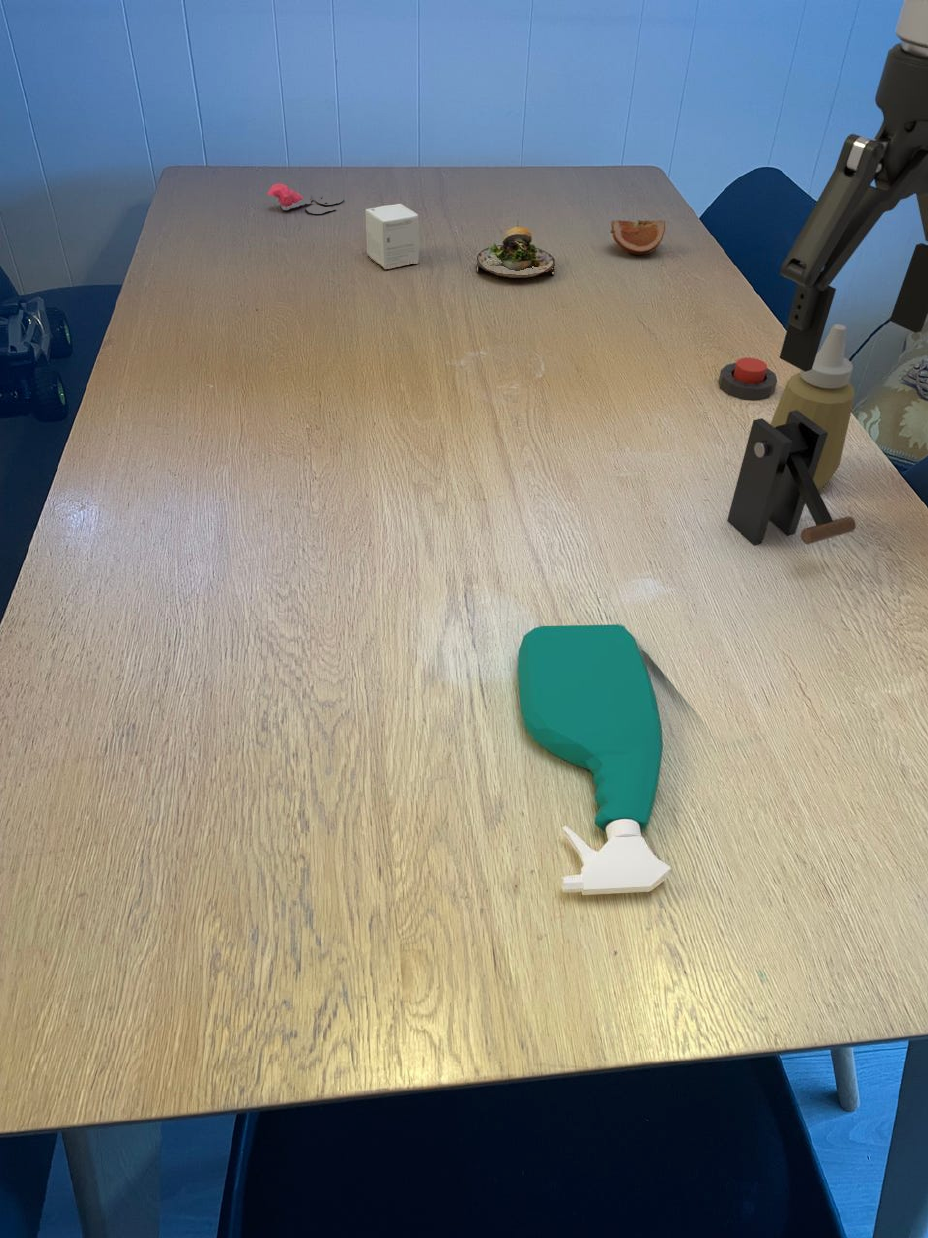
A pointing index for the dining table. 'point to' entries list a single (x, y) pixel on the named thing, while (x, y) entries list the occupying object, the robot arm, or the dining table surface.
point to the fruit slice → (638, 235)
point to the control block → (746, 385)
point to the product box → (392, 234)
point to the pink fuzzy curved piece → (284, 194)
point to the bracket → (772, 479)
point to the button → (750, 370)
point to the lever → (811, 492)
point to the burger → (516, 254)
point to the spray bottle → (599, 742)
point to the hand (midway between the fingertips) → (852, 344)
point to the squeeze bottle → (823, 400)
